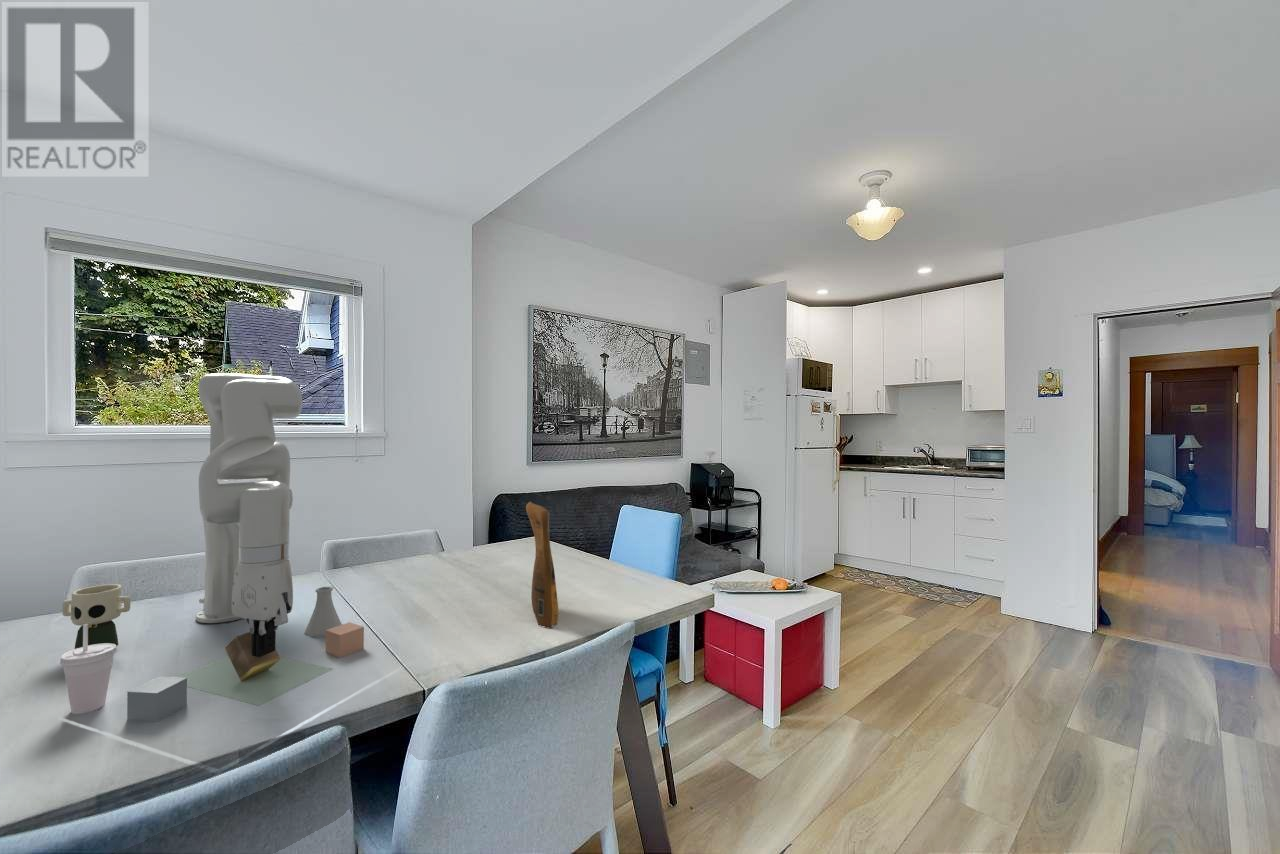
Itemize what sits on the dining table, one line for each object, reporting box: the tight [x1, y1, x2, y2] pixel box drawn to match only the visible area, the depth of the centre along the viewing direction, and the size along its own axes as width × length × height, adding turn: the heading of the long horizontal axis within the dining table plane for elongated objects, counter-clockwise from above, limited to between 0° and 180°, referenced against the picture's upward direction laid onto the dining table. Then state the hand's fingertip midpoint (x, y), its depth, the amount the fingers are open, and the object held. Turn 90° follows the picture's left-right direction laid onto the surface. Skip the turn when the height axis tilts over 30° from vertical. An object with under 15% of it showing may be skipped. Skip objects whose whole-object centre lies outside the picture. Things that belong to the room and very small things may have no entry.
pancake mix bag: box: [525, 501, 559, 629], centre depth 129 cm, size 7×19×28 cm, turn 19°
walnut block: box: [224, 631, 281, 681], centre depth 97 cm, size 4×5×7 cm
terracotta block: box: [325, 621, 365, 658], centre depth 108 cm, size 5×5×5 cm
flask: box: [303, 586, 343, 638], centre depth 118 cm, size 7×7×10 cm
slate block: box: [126, 675, 188, 723], centre depth 84 cm, size 5×5×5 cm
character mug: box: [61, 583, 131, 649], centre depth 106 cm, size 11×7×13 cm, turn 106°
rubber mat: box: [175, 656, 333, 707], centre depth 97 cm, size 24×14×1 cm, turn 71°
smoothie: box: [59, 624, 117, 715], centre depth 86 cm, size 6×6×14 cm
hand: (263, 653), depth 96 cm, fingers closed
